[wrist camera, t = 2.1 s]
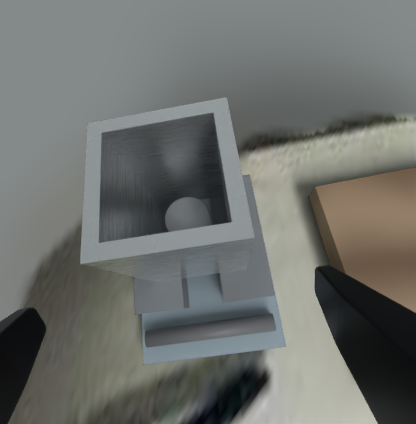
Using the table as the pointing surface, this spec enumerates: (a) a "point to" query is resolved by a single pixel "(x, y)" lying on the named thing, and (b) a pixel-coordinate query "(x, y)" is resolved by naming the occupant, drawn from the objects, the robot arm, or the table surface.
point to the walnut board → (372, 231)
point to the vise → (209, 296)
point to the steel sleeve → (163, 193)
